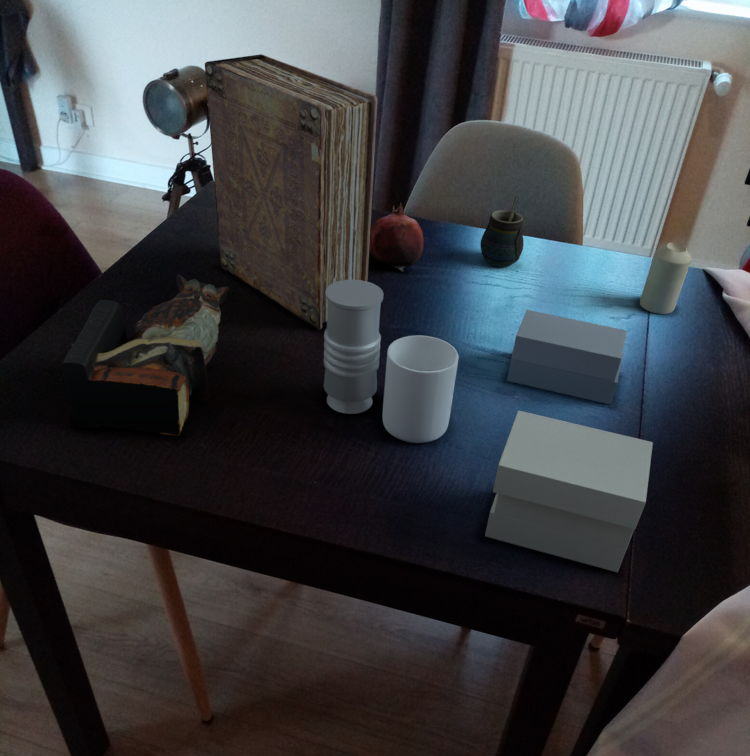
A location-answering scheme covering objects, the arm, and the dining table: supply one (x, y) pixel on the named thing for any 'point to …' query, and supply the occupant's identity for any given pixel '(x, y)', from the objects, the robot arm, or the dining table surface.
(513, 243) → the mate gourd
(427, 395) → the mug
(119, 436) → the dining table surface
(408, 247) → the fruit
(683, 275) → the cream cylinder
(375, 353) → the grey ribbed cylinder
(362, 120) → the book
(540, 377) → the grey stack
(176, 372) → the bookend
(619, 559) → the white stack
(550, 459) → the white box lid
